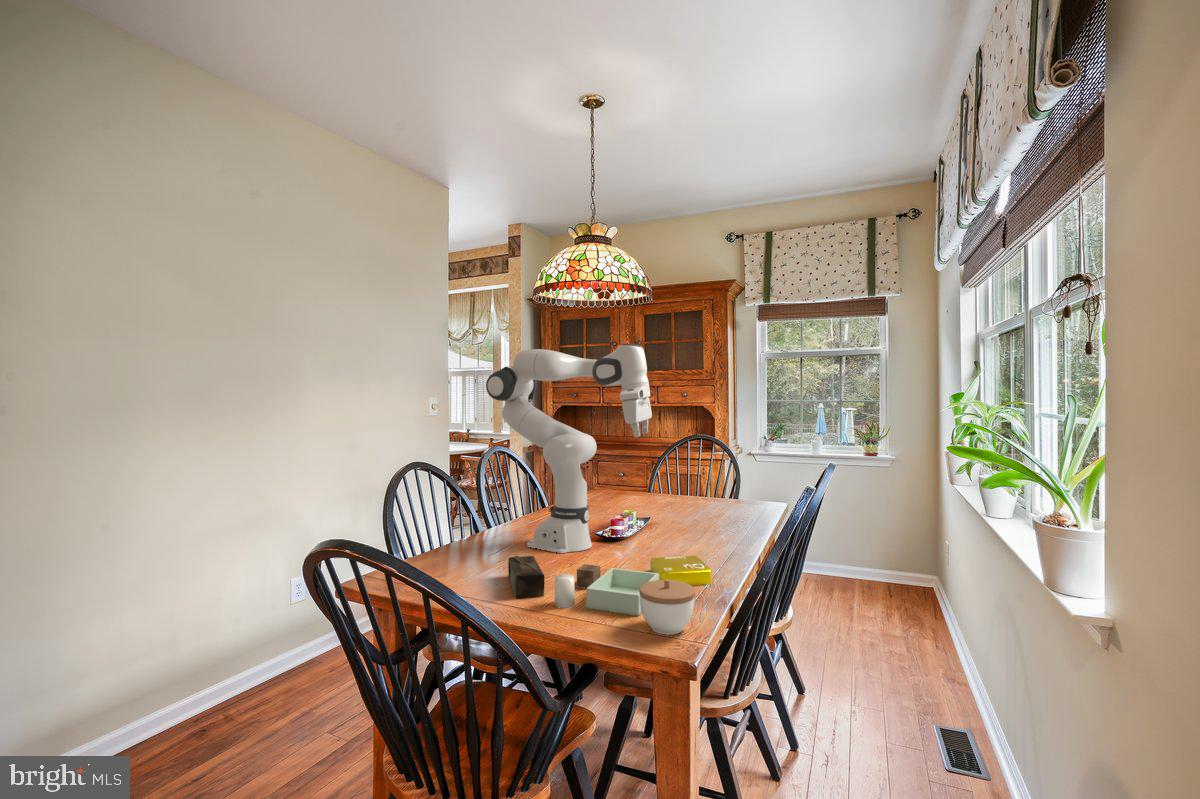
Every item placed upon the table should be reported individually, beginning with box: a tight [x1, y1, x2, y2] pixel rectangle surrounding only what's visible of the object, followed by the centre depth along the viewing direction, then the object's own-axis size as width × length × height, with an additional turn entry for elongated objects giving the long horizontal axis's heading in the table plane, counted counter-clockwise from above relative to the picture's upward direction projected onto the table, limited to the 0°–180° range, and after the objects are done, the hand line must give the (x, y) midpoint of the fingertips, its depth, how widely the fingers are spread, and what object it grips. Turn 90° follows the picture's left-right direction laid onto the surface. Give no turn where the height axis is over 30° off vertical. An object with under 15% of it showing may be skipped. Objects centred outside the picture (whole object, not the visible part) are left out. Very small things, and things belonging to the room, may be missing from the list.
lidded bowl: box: [639, 579, 696, 636], centre depth 133 cm, size 13×13×11 cm
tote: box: [586, 567, 659, 617], centre depth 151 cm, size 14×18×5 cm
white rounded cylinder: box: [554, 573, 576, 609], centre depth 148 cm, size 5×5×7 cm
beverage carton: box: [507, 555, 546, 599], centre depth 161 cm, size 8×19×7 cm, turn 15°
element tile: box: [649, 555, 713, 586], centre depth 169 cm, size 15×15×5 cm
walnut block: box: [576, 563, 601, 589], centre depth 162 cm, size 5×5×5 cm
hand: (641, 435), depth 188 cm, fingers open, 8 cm apart
